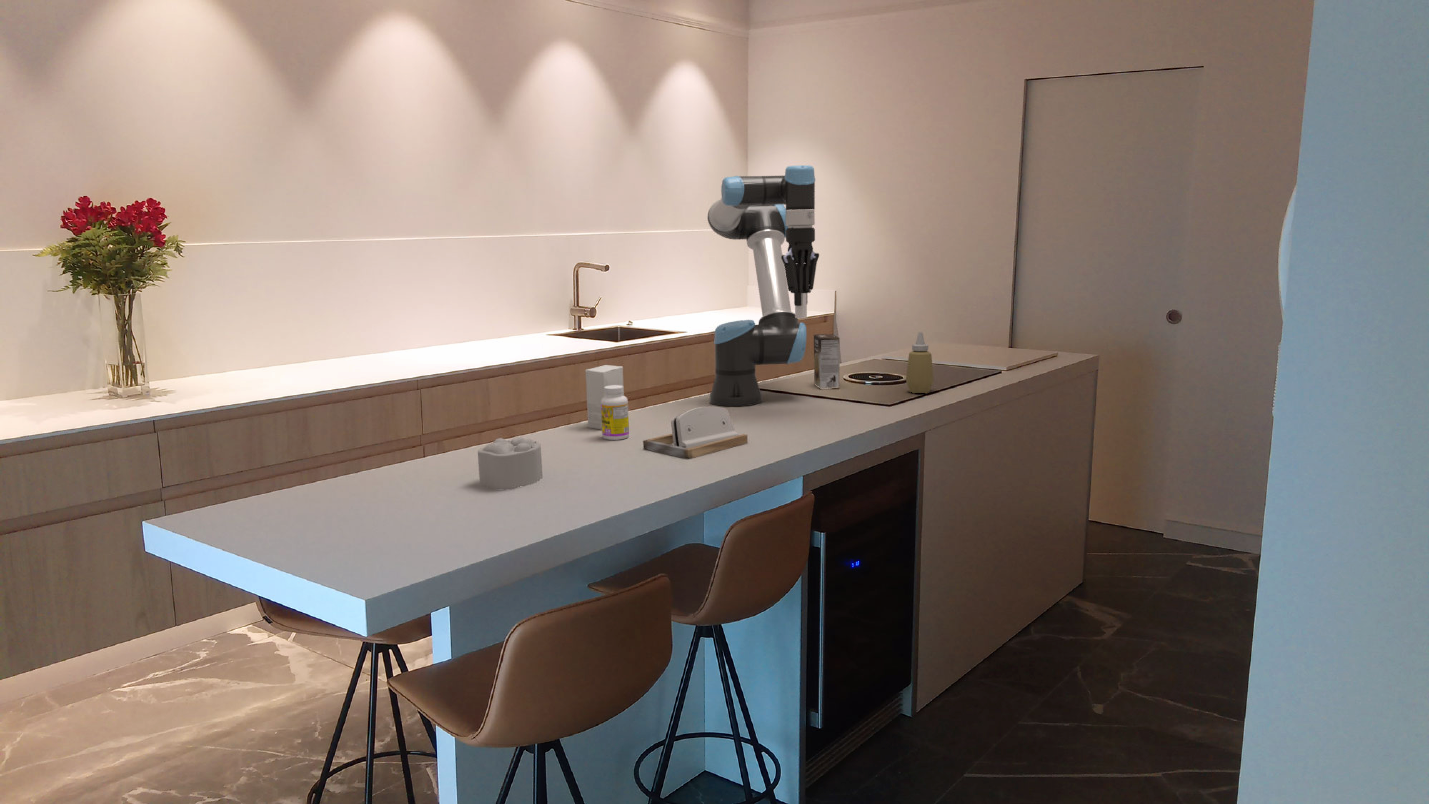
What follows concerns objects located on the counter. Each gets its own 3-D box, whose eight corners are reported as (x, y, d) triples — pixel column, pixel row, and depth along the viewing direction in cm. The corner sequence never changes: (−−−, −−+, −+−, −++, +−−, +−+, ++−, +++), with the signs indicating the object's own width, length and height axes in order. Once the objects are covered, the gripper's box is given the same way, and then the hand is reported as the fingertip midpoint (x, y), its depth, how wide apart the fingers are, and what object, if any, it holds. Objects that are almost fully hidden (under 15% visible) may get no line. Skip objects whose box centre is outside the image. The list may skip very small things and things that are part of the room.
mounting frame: (643, 448, 225) (643, 440, 225) (702, 434, 239) (702, 426, 238) (688, 459, 215) (688, 450, 214) (747, 443, 228) (747, 434, 228)
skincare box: (608, 422, 256) (605, 364, 253) (627, 424, 252) (624, 366, 249) (586, 428, 249) (583, 368, 246) (605, 430, 245) (603, 370, 242)
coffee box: (813, 385, 304) (813, 334, 301) (833, 384, 304) (833, 333, 301) (819, 389, 295) (819, 337, 292) (840, 389, 295) (840, 337, 292)
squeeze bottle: (912, 389, 292) (913, 330, 289) (937, 391, 287) (938, 331, 284) (901, 393, 286) (901, 333, 282) (926, 395, 281) (927, 334, 277)
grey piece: (686, 452, 221) (676, 410, 222) (674, 455, 224) (665, 414, 225) (741, 440, 231) (731, 400, 232) (729, 443, 235) (720, 404, 236)
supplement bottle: (599, 436, 239) (596, 385, 237) (624, 433, 242) (622, 383, 239) (607, 441, 233) (604, 390, 231) (632, 438, 236) (630, 387, 233)
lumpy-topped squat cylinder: (473, 483, 199) (470, 443, 197) (523, 470, 209) (520, 431, 207) (504, 491, 192) (501, 450, 191) (554, 477, 202) (552, 437, 201)
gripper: (795, 227, 240) (796, 321, 245) (827, 226, 250) (827, 316, 254) (772, 227, 246) (773, 319, 250) (804, 226, 255) (805, 315, 259)
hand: (801, 317), depth 252 cm, fingers closed
